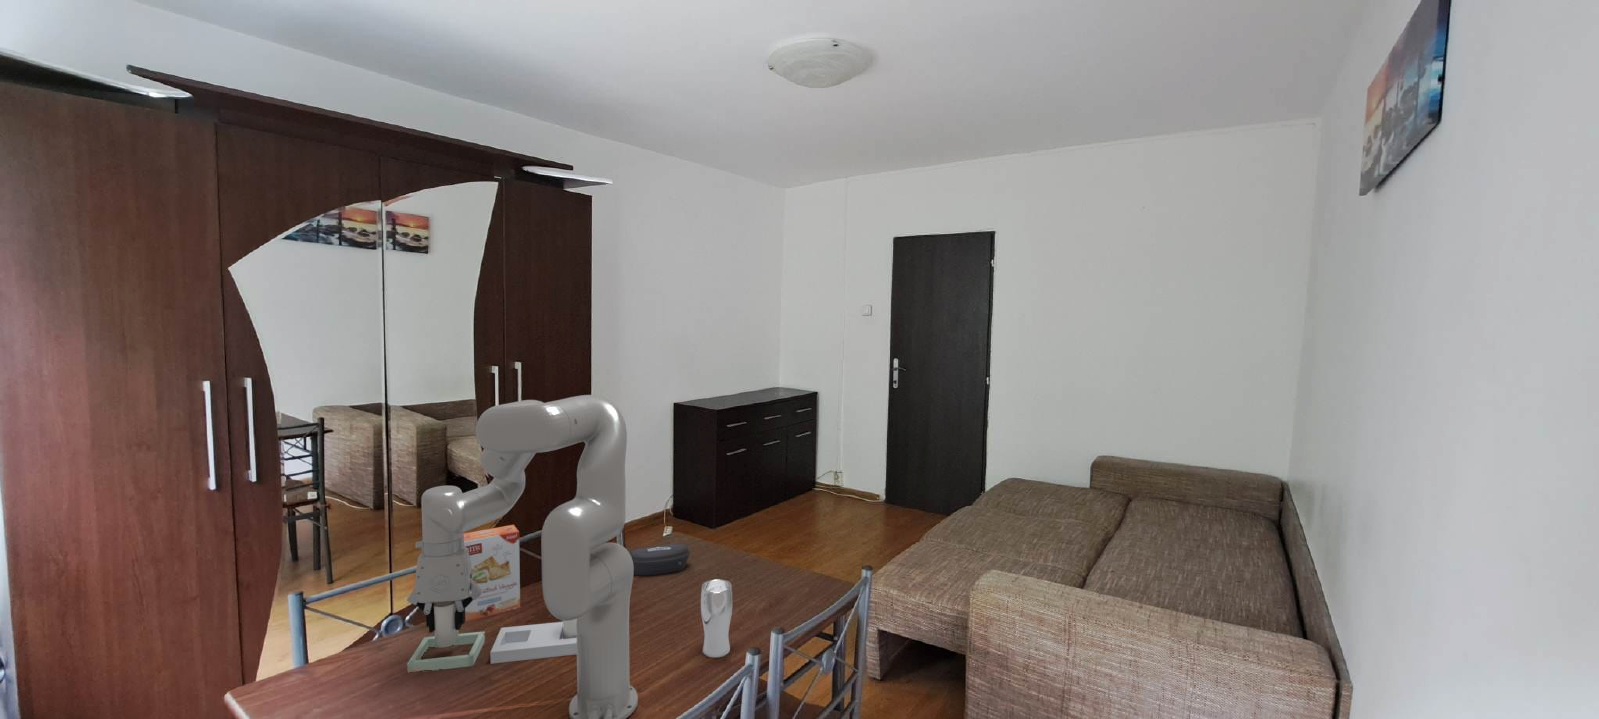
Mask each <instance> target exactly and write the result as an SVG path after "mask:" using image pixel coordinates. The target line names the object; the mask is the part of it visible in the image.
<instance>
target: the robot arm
mask: <svg viewBox="0 0 1599 719" xmlns="http://www.w3.org/2000/svg"><path fill="white" fill-rule="evenodd" d="M475 427H476V428H475V436H476V439H477V442H478V444H479V445H480V446H481V448H483V450H482V452H481V453H480V457H479V458H480V465H481V466H482V468H483V470H484V471H485V472H486V473H487V474H488V475H490V476H491V477H493V479H492V480H491V481H490V482H489V483H488V484H487V485H484V486H480V487H477V488H475V489H472V490H468V491H466V492H463V491H462V489H461V488H460V487H458V486H456V485H439V486H434V487H431V488H428V489H426V490H425V491H424V492H423V493H422V495H421V525H422V526H421V528H422V531H421V532H422V533H421V534H422V540H420V541H416V542H415V544H414V545H415V549H420V550H421V553H420V554H419V555H418V558H417V561H416V562H417V563H416V567H415V568H416V569H415V570H416V571H415V581H414V589H413V590H412V592H411V593H410V594H409V595H408V597H407V599H406V602H409V603H410V604H412V605H414V606H416V607H417V608H418V609H419V610H421V611H422V612H423V614H424V615H426V616H425V617H426V618H425V623H426V628H428V633H434V632H435V629H434V605H433V603H436V602H448V601H455V603H456V607H457V611H456V612H455V630H458V631H460V630H461V627H462V626H463V625H464V624H465V623H466V622H465V608H466V607H467V606H468V605H469V604H470V603H471V602H472V601H473V600H475V599H476V598H478V597H479V596H480V595H481V594H482V590H481V589H480V587H479V586H478V585H477V584H476V583H475V582H474V581H473V576H472V567H471V561H470V557H469V553H468V549H467V548H466V547H464V533H467V532H468V531H471V530H473V529H476V528H478V527H480V526H482V525H483V526H484V525H485V524H488V523H490V522H494V521H496V520H498V519H500V518H502V517H505V515H507V513H509V512H510V510H512V508H513V507H514V506H515V504H516V503H517V502H518V500H519V498H521V496H522V494H523V493H524V491H525V488H526V473H525V469H526V468H527V466H528V465H529V464H530V462H531V461H532V459H533V458H534V457H535V455H536V454H537V453H546V452H552V451H556V450H559V449H563V448H566V447H570V446H572V445H575V444H578V443H582V442H583V443H584V444H585V445H584V449H583V451H582V453H581V455H580V458H579V460H578V463H577V470H576V482H577V483H576V494H575V496H574V498H573V499H571V500H569V501H566V502H564V503H562V504H560V505H558V506H557V507H555V508H553V509H552V511H550V513H549V514H548V515H547V516H546V518H545V521H544V522H543V525H542V530H541V538H540V539H541V542H540V543H541V546H540V547H541V548H540V550H541V584H542V596H543V600H544V603H545V606H546V608H547V610H548V611H549V613H550V614H551V615H552V616H554V618H556V619H558V620H560V621H562V622H563V621H570V620H575V619H577V622H576V638H577V654H576V679H577V680H576V682H577V685H576V686H577V694H575V696H574V697H573V698H572V699H571V700H570V702H569V706H568V715H569V718H570V719H627V718H628V717H629V716H631V715H632V713H634V712H635V710H636V708H637V707H638V705H639V704H638V703H639V696H638V691H637V690H636V689H635V688H634V687H633V686H632V685H631V684H630V683H631V682H630V600H631V599H630V598H631V594H632V593H631V592H632V587H633V581H634V575H635V574H634V566H633V560H632V557H631V555H630V553H631V552H629V550H628V549H627V548H625V547H624V546H623V544H622V545H621V544H619V543H616V542H609V541H610V540H612V539H614V538H615V537H617V536H618V535H620V533H621V532H622V531H623V529H624V527H625V524H626V512H627V511H626V458H627V456H626V453H627V442H628V440H627V439H628V433H627V425H626V421H625V418H624V416H623V414H622V413H621V411H620V409H619V408H618V407H617V405H616V404H615V403H613V402H612V401H611V400H610V399H608V398H606V397H604V396H601V395H596V394H583V395H576V396H570V397H566V398H561V399H557V400H552V401H547V402H543V401H541V400H537V399H525V400H524V399H523V400H519V401H514V402H509V403H503V404H498V405H494V406H491V407H490V408H488V409H486V410H484V412H482V414H481V415H480V417H479V418H478V420H477V423H476V426H475ZM470 591H471V592H472V594H471V595H469V592H470ZM468 595H469V596H468ZM467 596H468V597H467ZM466 597H467V598H466Z"/></svg>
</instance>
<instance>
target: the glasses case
mask: <svg viewBox="0 0 1599 719" xmlns="http://www.w3.org/2000/svg"><path fill="white" fill-rule="evenodd" d="M629 553H630V555H631V557H632V560H633V566H634V575H635V576H640V577H641V576H642V577H643V576H645V577H646V576H647V577H648V576H659V575H667V574H672V573H677V572H680V571H682V570H684V569H685V568H686V566H687V562H688V560H689V558H690V554H691V552H690V549H689V547H688V546H687V545H685V544H682V543H679V544H678V543H676V544H666V545H658V546H651V547H645V548H638V549H634V550H632V551H630V552H629Z"/></svg>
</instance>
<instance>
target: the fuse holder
mask: <svg viewBox="0 0 1599 719" xmlns="http://www.w3.org/2000/svg"><path fill="white" fill-rule="evenodd" d="M489 654H490V664H491V665H493V664H500V663H511V662H518V661H527V660H528V661H529V660H536V659H537V660H538V659H546V658H557V657H564V656H565V657H566V656H572V655H573V656H574V655H577V638H568V639H563V621H558V622H546V623H537V624H528V625H527V624H526V625H517V626H507V627H500V630H499V632H498V634H497V636H496V639H495V640H494V643H493V645H492V648H491V650H490V652H489Z"/></svg>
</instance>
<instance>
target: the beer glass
mask: <svg viewBox="0 0 1599 719" xmlns="http://www.w3.org/2000/svg"><path fill="white" fill-rule="evenodd" d="M732 587H733V586H732V583H731V582H730V581H728V580H725V579H719V578H717V579H715V578H714V579H710V580H706V581H705V582H703V584H701V594H700V614H701V620H702V626H703V632H704V638H703V639H704V641H703V646H702V653H703V655H704V656H706V657H709V658H712V659H713V658H715V659H716V658H722V657H725V656H727V654H729V653H730V651H731V645H730V641H729V631H730V625H731V620H732V614H733V613H732V612H733V590H732Z"/></svg>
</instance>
